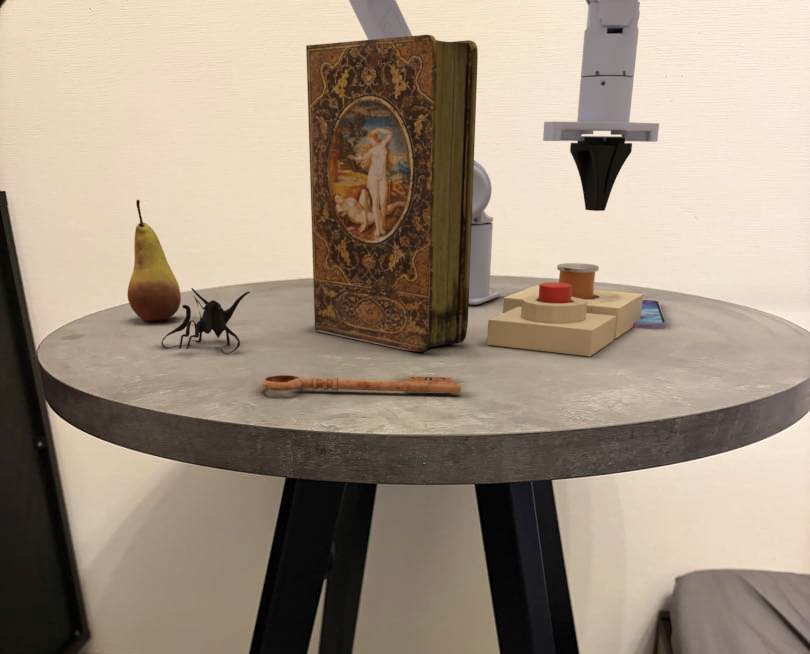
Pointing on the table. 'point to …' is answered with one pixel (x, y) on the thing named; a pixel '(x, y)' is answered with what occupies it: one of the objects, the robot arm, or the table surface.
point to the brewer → (596, 306)
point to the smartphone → (650, 316)
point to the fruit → (152, 277)
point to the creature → (208, 321)
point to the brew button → (555, 292)
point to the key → (364, 384)
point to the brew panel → (552, 327)
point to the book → (392, 188)
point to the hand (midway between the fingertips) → (595, 210)
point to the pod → (578, 278)
